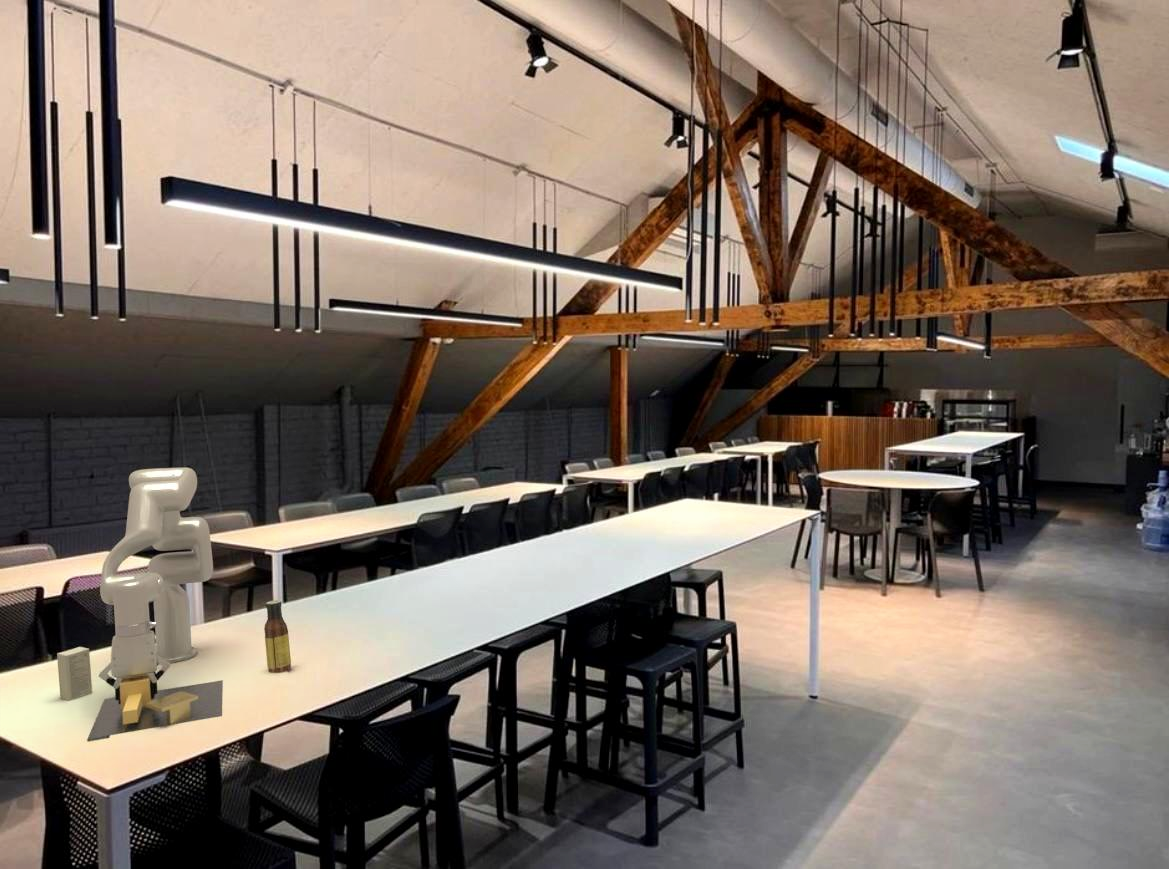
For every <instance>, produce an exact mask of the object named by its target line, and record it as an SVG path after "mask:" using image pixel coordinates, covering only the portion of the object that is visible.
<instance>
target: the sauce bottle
mask: <svg viewBox="0 0 1169 869" xmlns="http://www.w3.org/2000/svg"><path fill="white" fill-rule="evenodd" d="M265 608H266V613H267V617H266V618H267V619H266V621H265V623H264V641H265V652H266V664H267V669H268V672H269V673H273V674H279V673H283V672H289V671H290V670H291V668H292V666H291V665H292V664H291V663H292V661H291V660H292V659H291V650H290V639H289V636H290V635H289V630H288V625H287V623H286V622H285V620H284V618H283V613H282V601H281V600H279V599H278V600H277V599H276V600H275V599H274V600H269V601H267V602H266V603H265Z"/></svg>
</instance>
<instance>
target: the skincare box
mask: <svg viewBox="0 0 1169 869" xmlns="http://www.w3.org/2000/svg"><path fill="white" fill-rule="evenodd" d="M56 655H57V656H56V658H57V671H58V681H59V682H58V684H59V685H58V686H59V696H60V697H59V698H60V699H63V700H67V701H71V700H75V699H79V698H81V697H84V696H86V695H89V694H93V685H92V684H93V683H92V682H93V680H92V670H91V669H92V668H91V667H92V666H91V658H90V657H91V656H90V648H87V647H83V646H78V647H75V648H71V649H67V650H64V651H61V652H57V654H56Z"/></svg>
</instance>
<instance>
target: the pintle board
mask: <svg viewBox="0 0 1169 869" xmlns="http://www.w3.org/2000/svg"><path fill="white" fill-rule="evenodd" d="M223 681H224V680H217V681H216V680H214V681H209V682H203V683H197V684H189V685H183V686H178V687H177V686H176V687H170V688H164V689H159V690H158V689H157V694H155V697H154V699H152V700H151V702H148V703H145V705H143V706H142V709H141V713H140V716H139V720H138V722H135V723H129V724H123V713H122V712H123V709H124V708H122V709H121V704H119V701H118V700H116V698H115V696H113V697H108V698H107V697H106V698H104V699H103V701H102V704H101V706H100V708H99V710H98V713H97V715H96V718H95V720H94V723H93V725H92V728H91V730H90V732H89V735H88V737H87V738H86V740H87V742H91V741H97V740H102V739H108V738H110V737H111V736H114V735H121V734H125V733H132V732H138V731H144V730H148V729H154V728H155V729H157V728H161V727H162V728H163V727H166V726H173V725H178V724H184V723H190V722H196V721H202V720H208V719H212V718H214V719H215V718H218V717H222V716H223V693H224V692H223V688H224V686H223V683H224V682H223Z"/></svg>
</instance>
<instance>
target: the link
mask: <svg viewBox="0 0 1169 869" xmlns="http://www.w3.org/2000/svg"><path fill="white" fill-rule="evenodd" d="M150 683H151V679H150V678H149V676H148V674H141V675H134V676H127V677H123V678H122V680H121V682H120V700H121V709H122V708H124V709H123V712H122V713H123V724H129V723H135V722H138V720H139V716H140V713H141V709H142V706H143V705H145V703H148V702H151V700H152V699H151V692H150Z"/></svg>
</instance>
